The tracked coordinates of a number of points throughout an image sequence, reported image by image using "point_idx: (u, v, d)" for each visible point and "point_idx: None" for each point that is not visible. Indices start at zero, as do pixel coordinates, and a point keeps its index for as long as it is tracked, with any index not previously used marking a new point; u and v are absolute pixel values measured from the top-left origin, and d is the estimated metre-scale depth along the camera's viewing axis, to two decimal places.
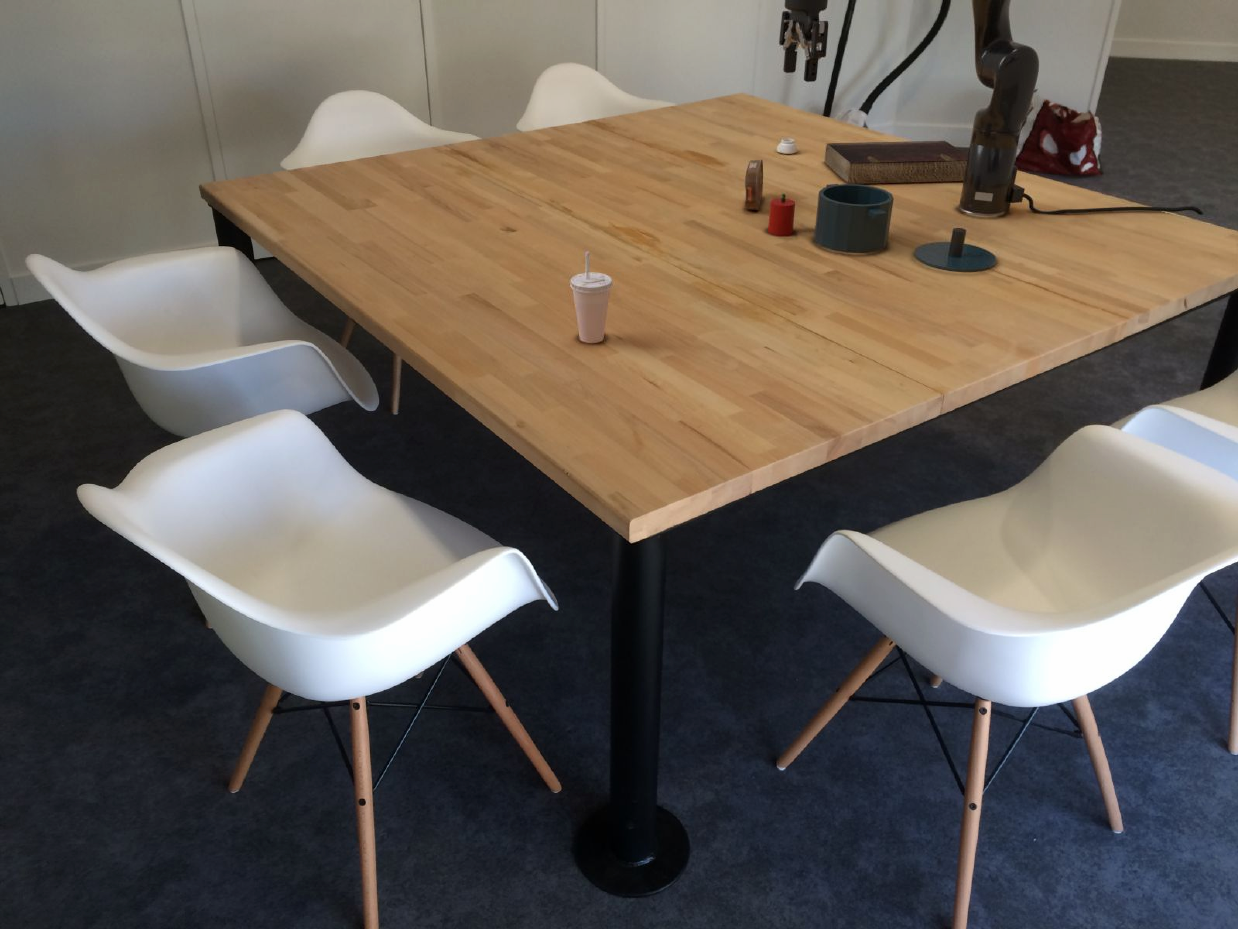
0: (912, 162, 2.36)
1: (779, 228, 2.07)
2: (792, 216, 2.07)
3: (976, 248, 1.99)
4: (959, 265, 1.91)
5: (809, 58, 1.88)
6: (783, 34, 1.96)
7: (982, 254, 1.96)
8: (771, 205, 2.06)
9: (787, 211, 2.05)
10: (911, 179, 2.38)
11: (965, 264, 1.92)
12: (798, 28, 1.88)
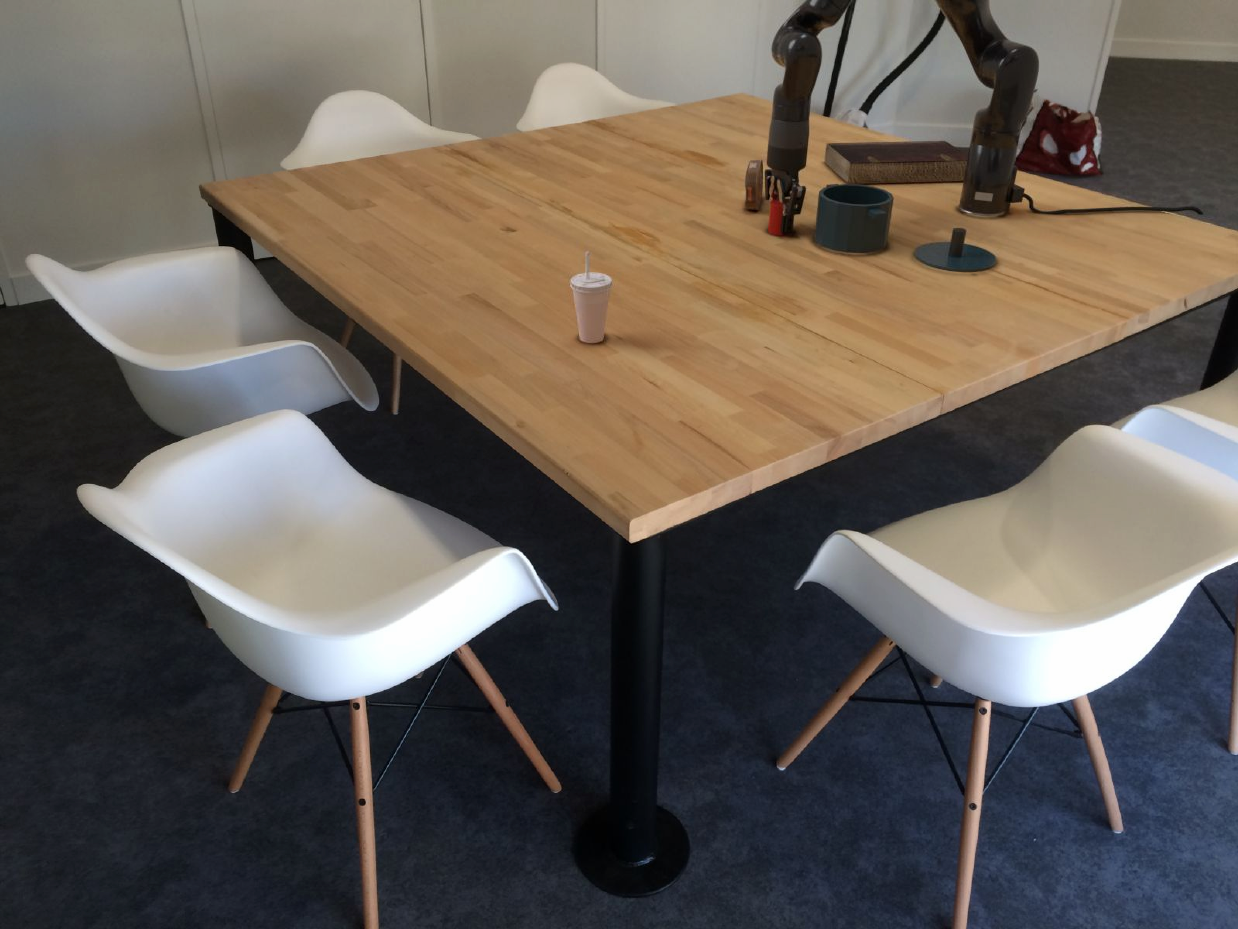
0: (912, 162, 2.36)
1: (779, 228, 2.07)
2: None
3: (976, 248, 1.99)
4: (959, 265, 1.91)
5: (785, 215, 2.04)
6: (768, 190, 2.10)
7: (982, 254, 1.96)
8: (771, 205, 2.06)
9: None
10: (911, 179, 2.38)
11: (965, 264, 1.92)
12: (779, 185, 2.03)
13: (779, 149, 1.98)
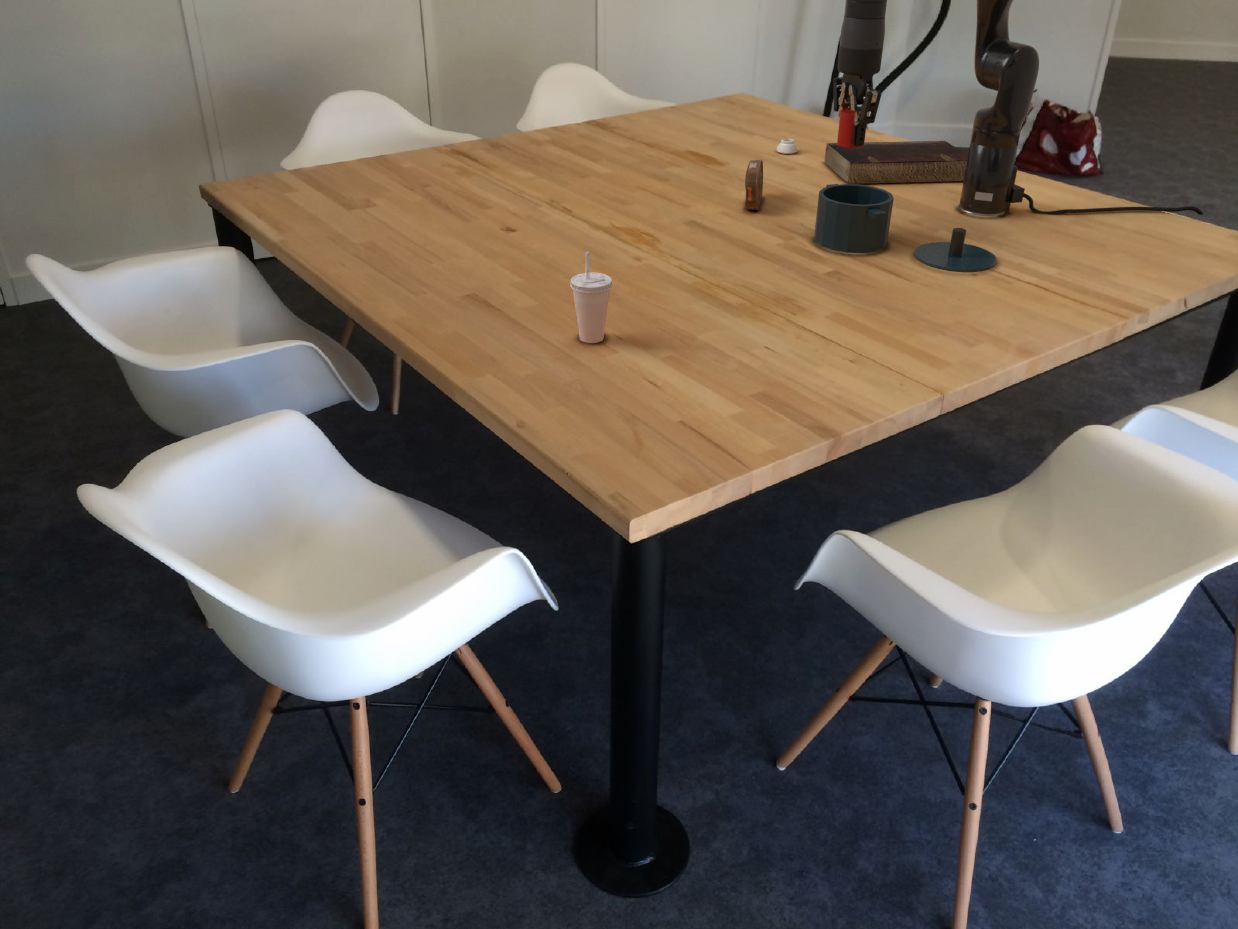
0: (912, 162, 2.36)
1: (850, 139, 1.93)
2: None
3: (976, 248, 1.99)
4: (959, 265, 1.91)
5: (857, 124, 1.90)
6: (837, 99, 1.96)
7: (982, 254, 1.96)
8: (841, 114, 1.92)
9: None
10: (911, 179, 2.38)
11: (965, 264, 1.92)
12: (851, 91, 1.89)
13: (852, 50, 1.84)
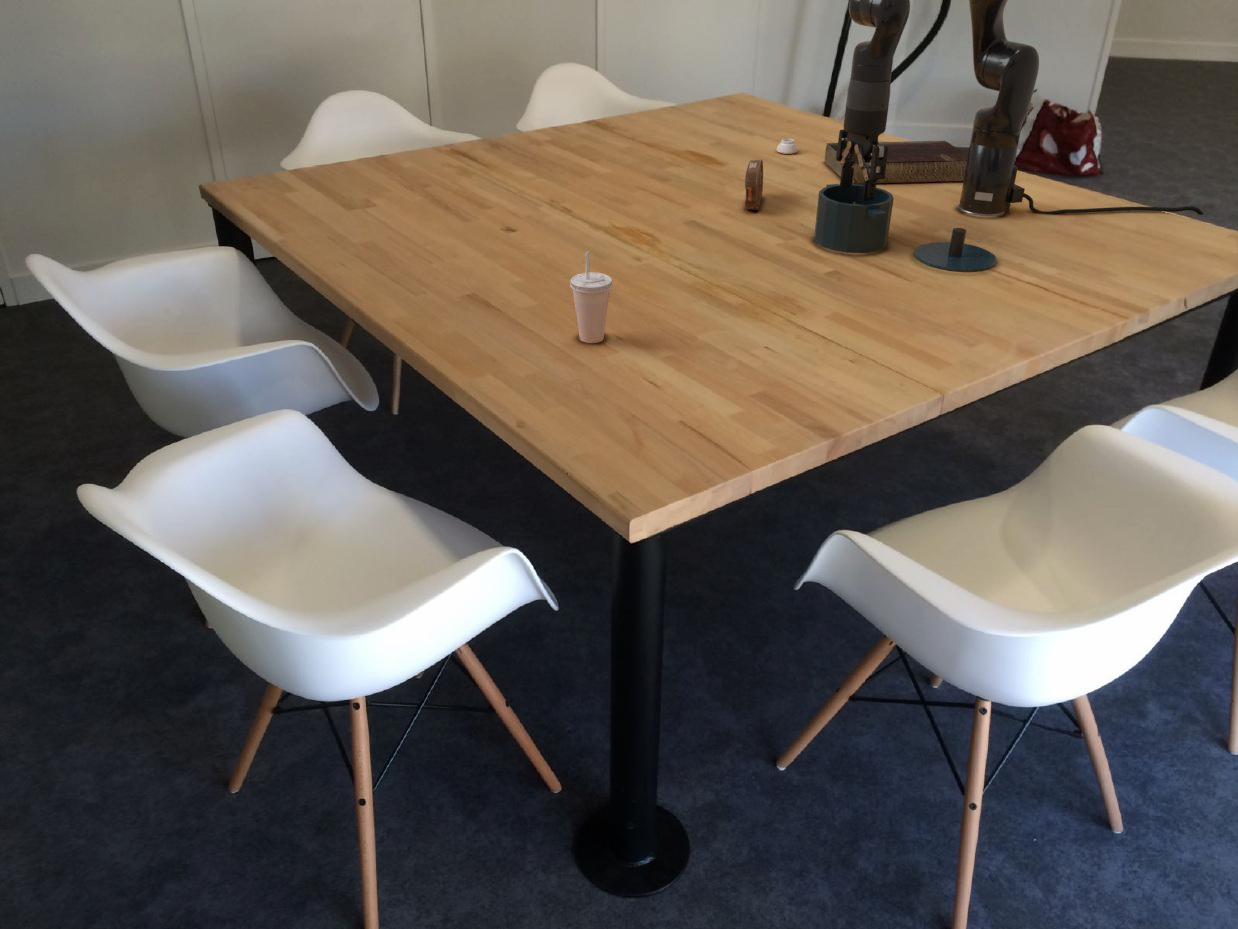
0: (912, 162, 2.36)
1: None
2: None
3: (976, 248, 1.99)
4: (959, 265, 1.91)
5: (868, 179, 1.93)
6: (840, 151, 2.00)
7: (982, 254, 1.96)
8: None
9: None
10: (911, 179, 2.38)
11: (965, 264, 1.92)
12: (857, 150, 1.93)
13: (859, 112, 1.88)
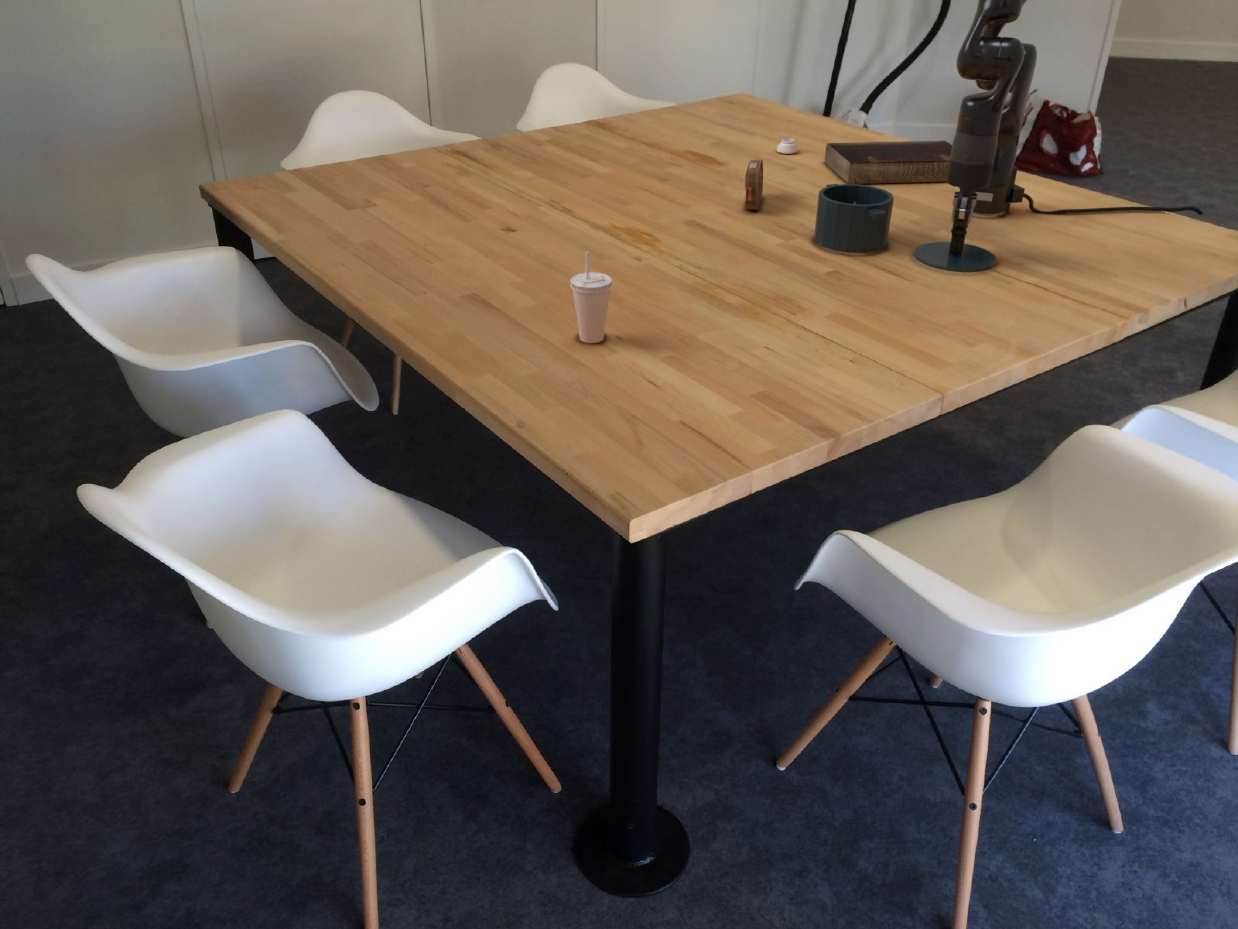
0: (912, 162, 2.36)
1: None
2: None
3: (976, 248, 1.99)
4: (959, 265, 1.91)
5: (952, 233, 1.92)
6: None
7: (982, 254, 1.96)
8: None
9: None
10: (911, 179, 2.38)
11: (965, 264, 1.92)
12: None
13: (953, 162, 1.86)
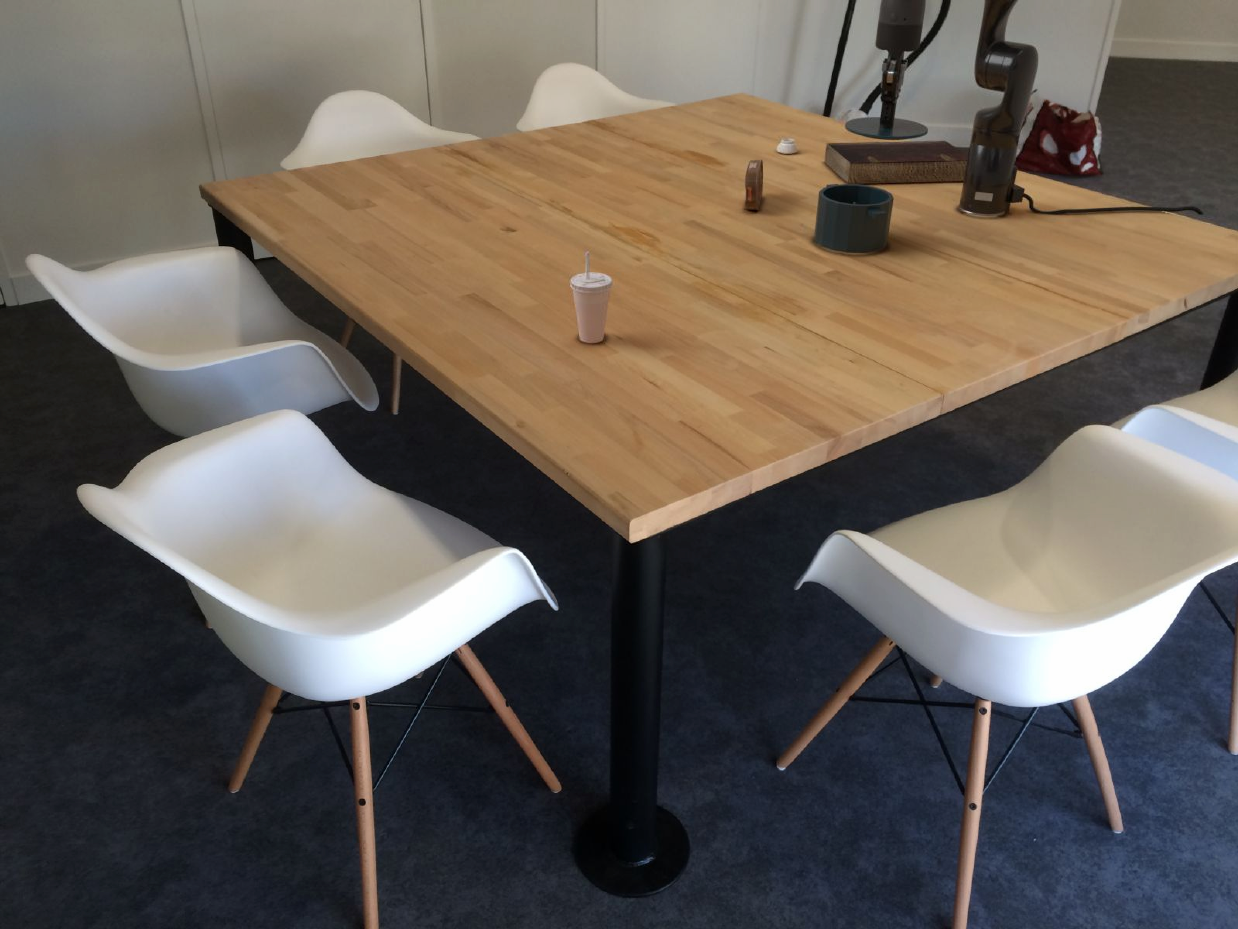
0: (912, 162, 2.36)
1: None
2: None
3: (909, 121, 1.94)
4: (889, 133, 1.86)
5: (882, 101, 1.87)
6: None
7: (914, 126, 1.91)
8: None
9: None
10: (911, 179, 2.38)
11: (895, 133, 1.86)
12: (882, 66, 1.85)
13: (881, 24, 1.81)
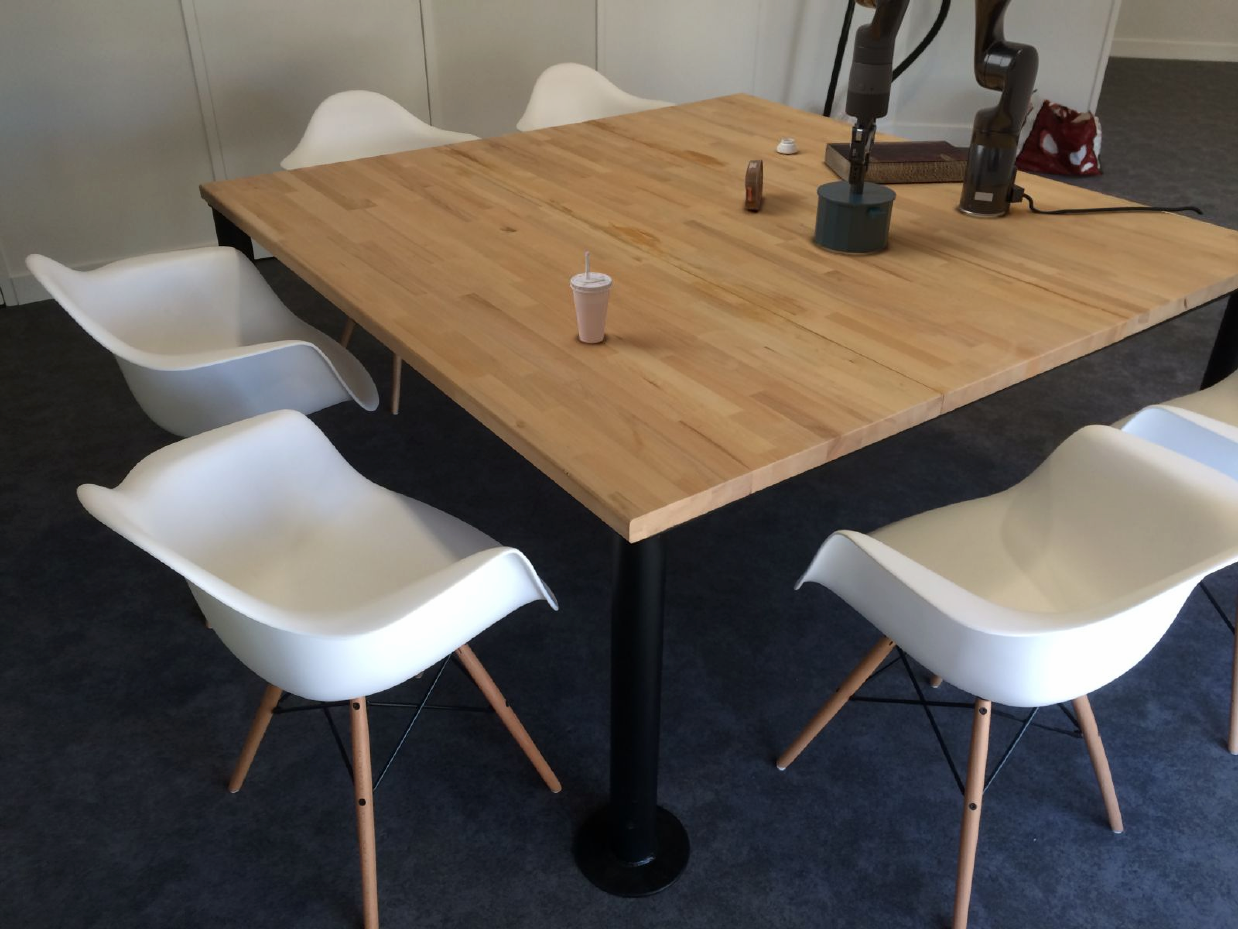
0: (912, 162, 2.36)
1: None
2: None
3: (879, 186, 2.02)
4: (858, 200, 1.94)
5: (851, 162, 1.92)
6: None
7: (883, 191, 1.99)
8: None
9: None
10: (911, 179, 2.38)
11: (864, 200, 1.95)
12: (851, 132, 1.92)
13: (850, 92, 1.89)
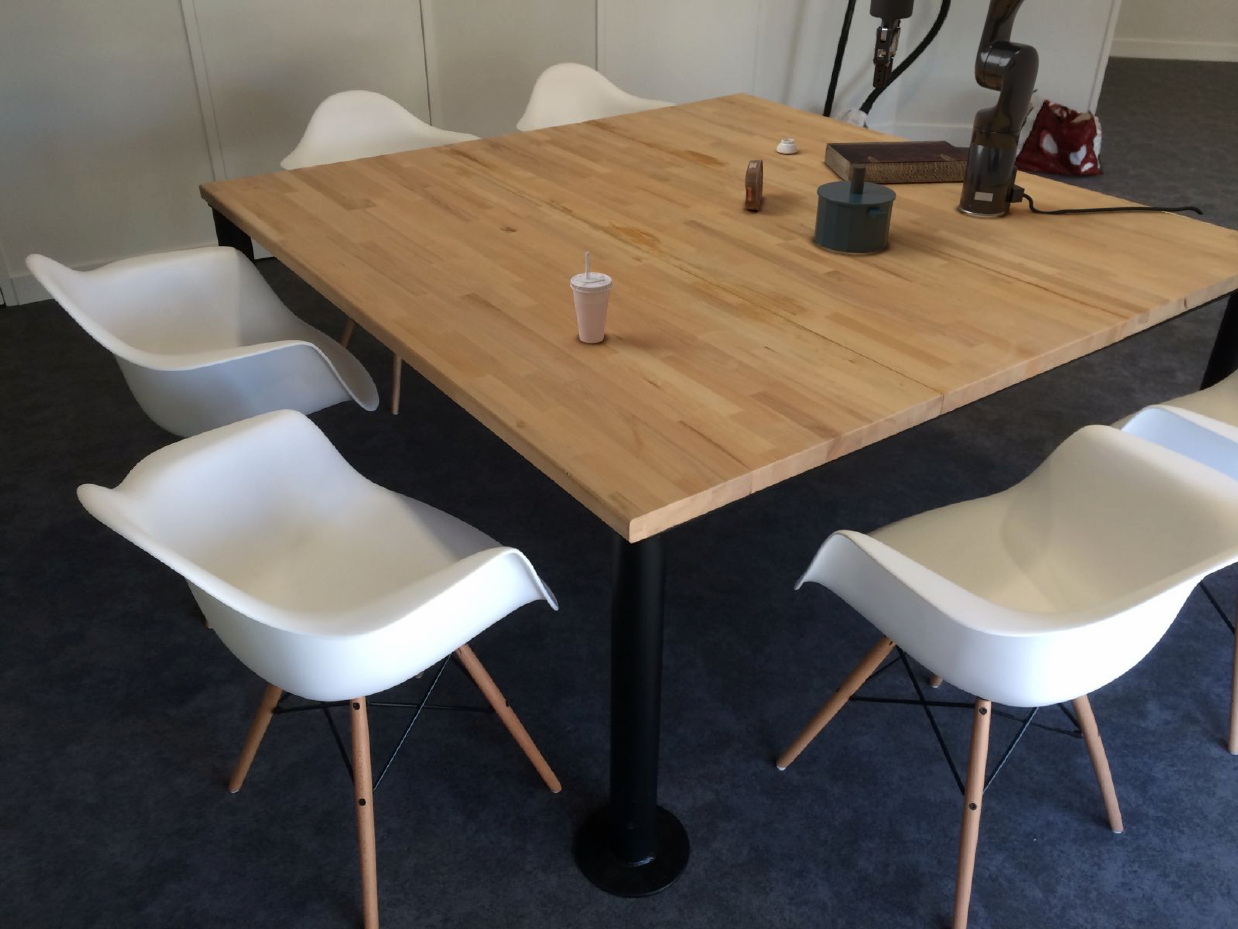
0: (912, 162, 2.36)
1: None
2: None
3: (879, 186, 2.02)
4: (858, 200, 1.94)
5: (875, 64, 1.90)
6: None
7: (883, 191, 1.99)
8: None
9: None
10: (911, 179, 2.38)
11: (864, 200, 1.95)
12: None
13: None
